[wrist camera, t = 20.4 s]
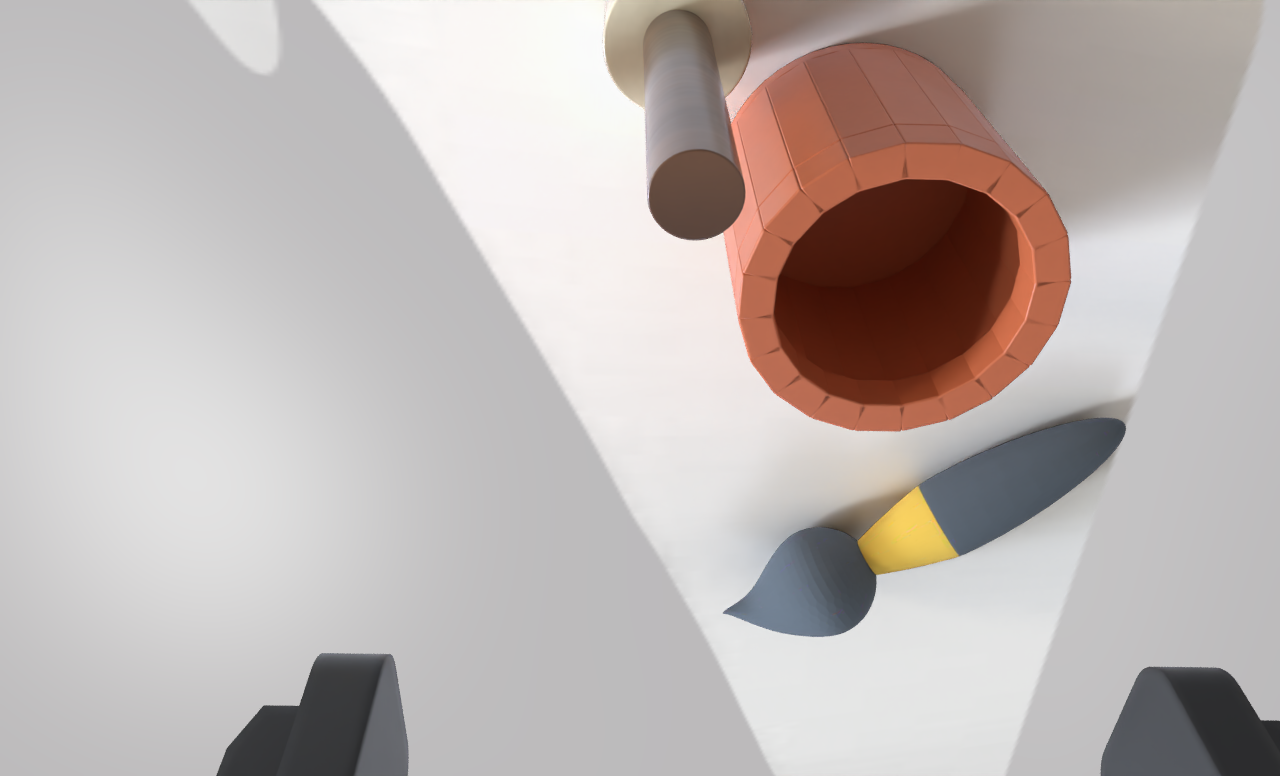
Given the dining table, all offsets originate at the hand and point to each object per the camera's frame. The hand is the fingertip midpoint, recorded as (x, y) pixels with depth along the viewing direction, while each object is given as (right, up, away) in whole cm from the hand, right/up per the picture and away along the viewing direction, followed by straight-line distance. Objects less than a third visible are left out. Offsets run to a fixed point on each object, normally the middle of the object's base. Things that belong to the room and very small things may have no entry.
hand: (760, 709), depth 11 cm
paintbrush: (+11, -1, +38) cm, 39 cm away
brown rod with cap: (0, +17, +25) cm, 30 cm away
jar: (+7, +12, +28) cm, 31 cm away
